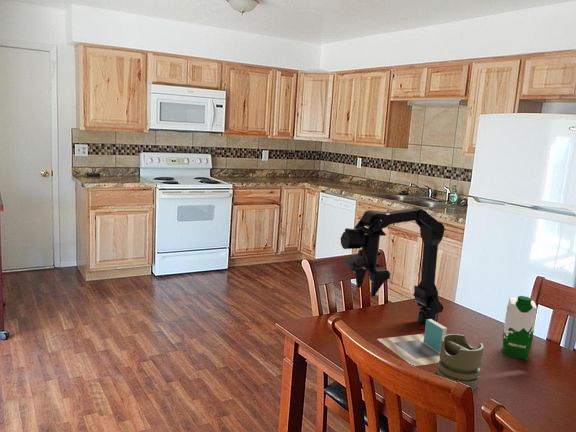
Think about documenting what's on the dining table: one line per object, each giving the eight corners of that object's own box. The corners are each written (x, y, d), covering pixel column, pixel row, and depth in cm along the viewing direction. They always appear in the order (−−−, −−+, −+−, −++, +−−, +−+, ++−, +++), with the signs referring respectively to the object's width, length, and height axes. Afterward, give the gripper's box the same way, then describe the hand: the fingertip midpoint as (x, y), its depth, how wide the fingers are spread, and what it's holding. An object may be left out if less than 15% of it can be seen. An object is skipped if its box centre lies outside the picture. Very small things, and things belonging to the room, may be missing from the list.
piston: (466, 353, 136) (433, 337, 145) (460, 394, 138) (428, 376, 147) (491, 346, 142) (458, 331, 152) (485, 385, 144) (453, 368, 154)
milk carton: (501, 356, 165) (510, 297, 161) (499, 345, 173) (508, 289, 170) (530, 361, 162) (540, 302, 159) (527, 350, 171) (536, 294, 167)
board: (429, 336, 177) (430, 332, 177) (470, 361, 159) (470, 358, 159) (376, 342, 169) (376, 339, 168) (412, 370, 151) (413, 366, 150)
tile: (428, 341, 169) (431, 318, 168) (444, 351, 162) (447, 328, 161) (423, 342, 169) (426, 319, 167) (439, 352, 161) (442, 328, 160)
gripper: (336, 242, 177) (332, 284, 179) (363, 255, 160) (359, 302, 163) (363, 241, 181) (359, 283, 184) (393, 254, 164) (388, 300, 167)
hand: (365, 291), depth 174 cm, fingers open, 9 cm apart
